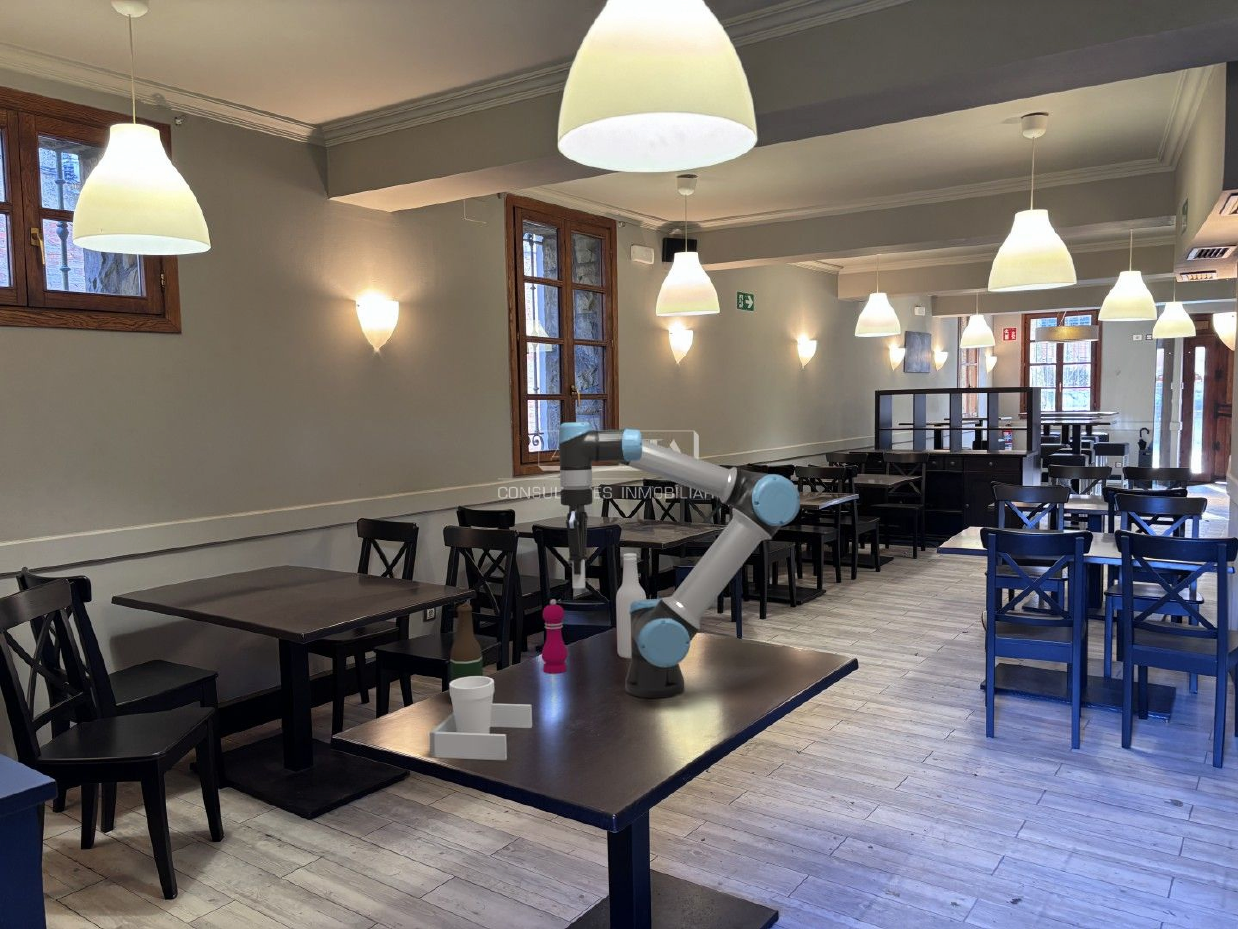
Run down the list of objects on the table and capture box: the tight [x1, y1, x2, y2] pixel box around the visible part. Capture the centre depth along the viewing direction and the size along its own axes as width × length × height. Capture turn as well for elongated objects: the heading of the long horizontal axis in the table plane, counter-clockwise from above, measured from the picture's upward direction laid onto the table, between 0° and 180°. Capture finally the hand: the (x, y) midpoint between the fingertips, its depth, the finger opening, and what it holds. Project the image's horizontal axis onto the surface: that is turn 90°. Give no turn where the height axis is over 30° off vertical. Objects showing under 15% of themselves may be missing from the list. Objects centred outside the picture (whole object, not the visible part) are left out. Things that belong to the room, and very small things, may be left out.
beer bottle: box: [449, 604, 484, 682], centre depth 212 cm, size 8×8×24 cm
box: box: [429, 702, 533, 761], centre depth 185 cm, size 16×20×5 cm
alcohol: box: [615, 552, 647, 659], centre depth 252 cm, size 9×9×30 cm
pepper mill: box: [541, 598, 568, 674], centre depth 238 cm, size 7×7×20 cm
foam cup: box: [448, 676, 495, 734], centre depth 184 cm, size 10×9×13 cm
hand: (579, 587), depth 202 cm, fingers closed
